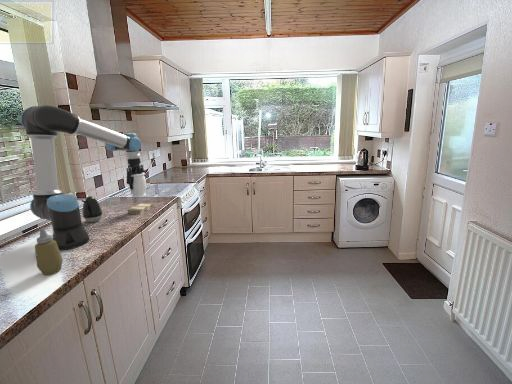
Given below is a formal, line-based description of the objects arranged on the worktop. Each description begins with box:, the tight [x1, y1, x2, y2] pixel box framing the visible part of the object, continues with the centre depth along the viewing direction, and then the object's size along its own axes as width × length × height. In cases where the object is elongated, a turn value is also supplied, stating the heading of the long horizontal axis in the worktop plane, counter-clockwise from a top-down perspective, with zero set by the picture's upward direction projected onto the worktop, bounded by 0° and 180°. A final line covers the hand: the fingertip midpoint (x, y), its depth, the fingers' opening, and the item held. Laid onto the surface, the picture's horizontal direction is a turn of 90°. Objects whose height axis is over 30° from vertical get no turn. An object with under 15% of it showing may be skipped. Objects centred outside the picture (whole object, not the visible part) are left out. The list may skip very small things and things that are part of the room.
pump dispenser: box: [81, 195, 103, 223], centre depth 162 cm, size 10×10×15 cm
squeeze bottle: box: [34, 227, 63, 276], centre depth 105 cm, size 8×8×18 cm
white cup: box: [128, 171, 147, 198], centre depth 178 cm, size 11×10×15 cm
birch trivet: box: [127, 203, 154, 215], centre depth 182 cm, size 14×9×2 cm, turn 168°
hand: (138, 191), depth 179 cm, fingers closed on white cup, 10 cm apart
